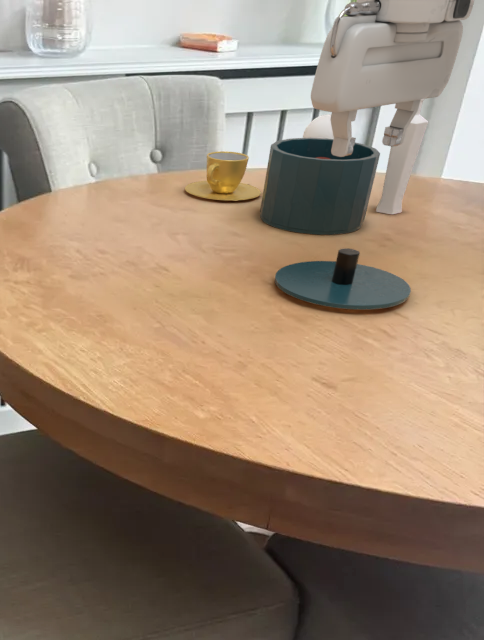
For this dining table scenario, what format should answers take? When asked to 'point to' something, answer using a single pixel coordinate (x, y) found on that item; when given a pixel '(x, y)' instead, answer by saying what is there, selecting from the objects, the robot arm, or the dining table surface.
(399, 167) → the perfume bottle
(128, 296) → the dining table surface
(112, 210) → the dining table surface
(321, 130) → the light bulb
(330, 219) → the tin
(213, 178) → the cup
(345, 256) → the tin lid
